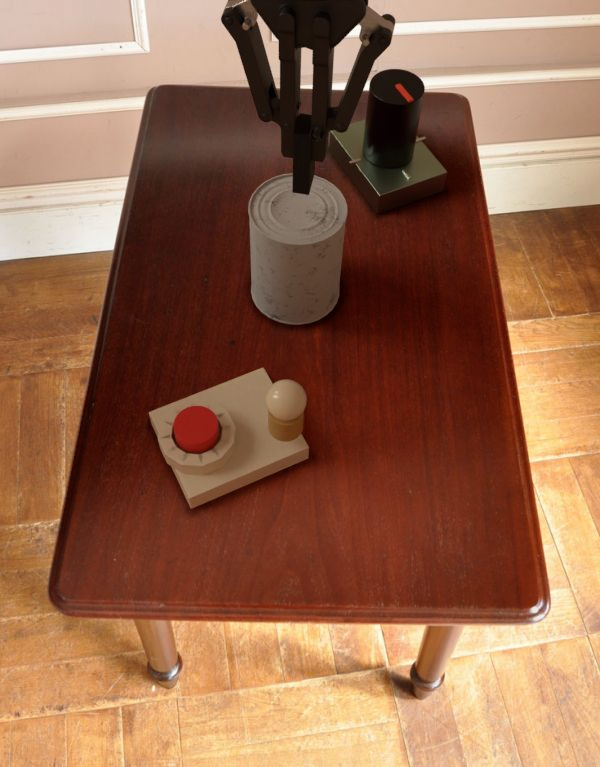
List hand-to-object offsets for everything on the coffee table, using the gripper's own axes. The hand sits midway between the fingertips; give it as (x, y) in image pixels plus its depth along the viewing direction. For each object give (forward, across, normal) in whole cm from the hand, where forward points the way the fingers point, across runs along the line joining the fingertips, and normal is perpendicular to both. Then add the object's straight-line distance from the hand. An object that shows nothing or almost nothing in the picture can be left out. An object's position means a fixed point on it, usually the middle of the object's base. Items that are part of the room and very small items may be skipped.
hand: (303, 183), depth 76 cm
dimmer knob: (+15, +6, +23) cm, 28 cm away
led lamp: (+14, +2, -17) cm, 22 cm away
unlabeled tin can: (+18, -1, +2) cm, 18 cm away
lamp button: (+14, -6, -19) cm, 25 cm away
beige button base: (+18, -4, -18) cm, 25 cm away
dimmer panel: (+18, +6, +23) cm, 29 cm away
